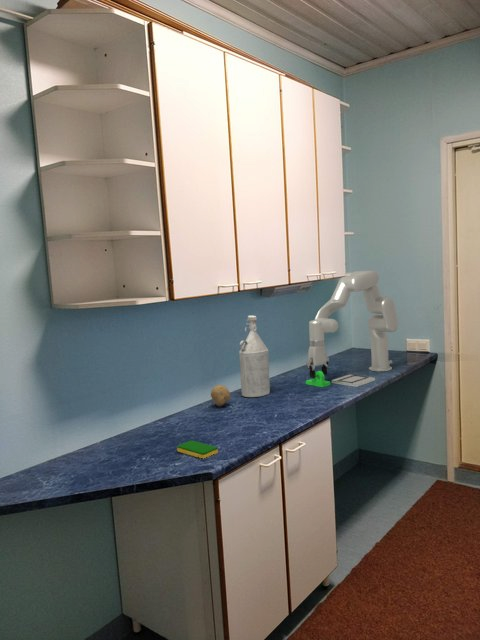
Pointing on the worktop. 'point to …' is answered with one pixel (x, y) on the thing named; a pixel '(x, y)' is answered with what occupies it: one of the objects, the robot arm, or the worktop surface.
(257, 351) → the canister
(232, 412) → the worktop surface
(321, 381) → the mechanical part
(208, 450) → the dish sponge
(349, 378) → the flange
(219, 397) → the natural sponge
